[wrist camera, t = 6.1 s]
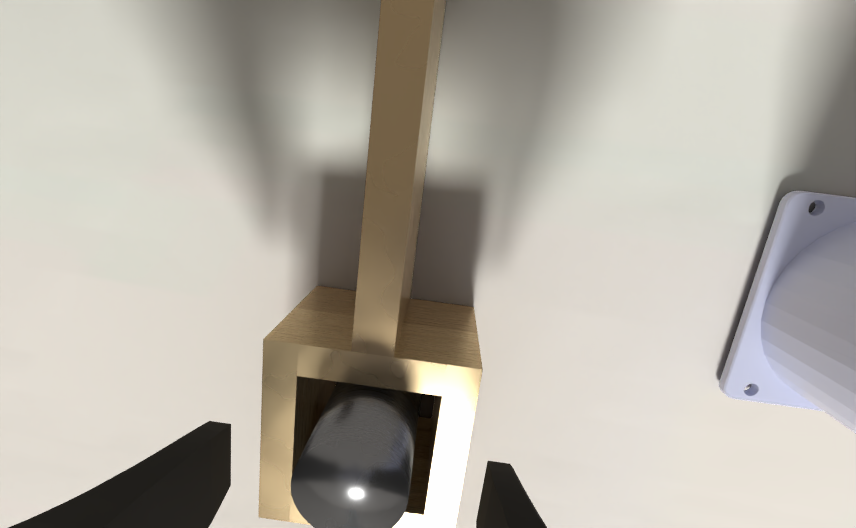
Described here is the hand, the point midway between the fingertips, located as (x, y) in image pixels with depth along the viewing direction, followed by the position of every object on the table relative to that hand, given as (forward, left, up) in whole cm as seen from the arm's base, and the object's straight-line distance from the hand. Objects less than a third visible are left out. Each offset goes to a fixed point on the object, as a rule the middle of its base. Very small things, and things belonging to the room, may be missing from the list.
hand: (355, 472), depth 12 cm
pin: (0, 0, -6) cm, 6 cm away
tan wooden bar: (0, 0, -6) cm, 6 cm away
